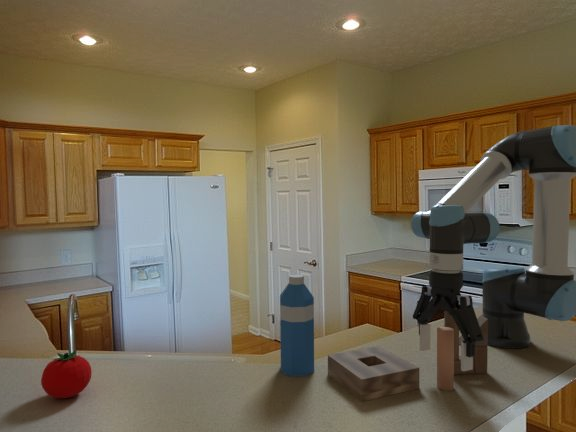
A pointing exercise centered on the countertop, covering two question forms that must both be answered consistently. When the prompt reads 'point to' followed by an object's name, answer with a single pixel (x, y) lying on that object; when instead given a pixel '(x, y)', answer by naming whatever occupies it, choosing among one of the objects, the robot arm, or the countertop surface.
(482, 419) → the countertop surface
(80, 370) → the tomato
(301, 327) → the water bottle
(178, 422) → the countertop surface
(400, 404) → the countertop surface
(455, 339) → the wooden block structure
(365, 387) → the socket block
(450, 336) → the pin
